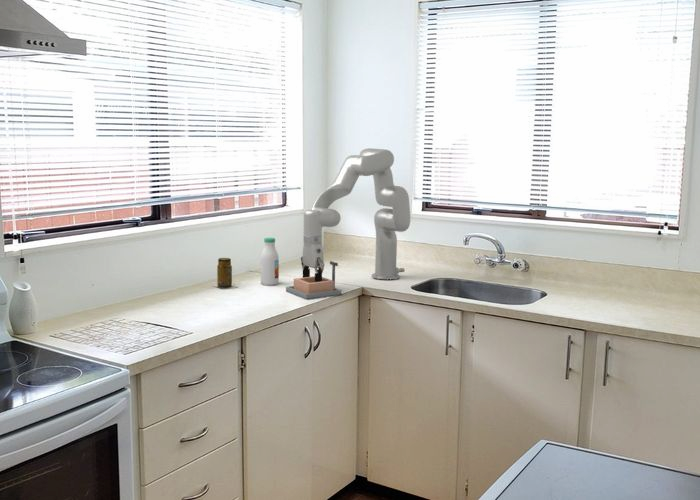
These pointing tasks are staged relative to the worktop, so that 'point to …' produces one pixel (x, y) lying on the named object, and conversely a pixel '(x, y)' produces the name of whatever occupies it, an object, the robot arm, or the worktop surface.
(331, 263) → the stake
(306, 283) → the ring
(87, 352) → the worktop surface
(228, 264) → the condiment
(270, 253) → the milk bottle
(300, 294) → the tray
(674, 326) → the worktop surface
